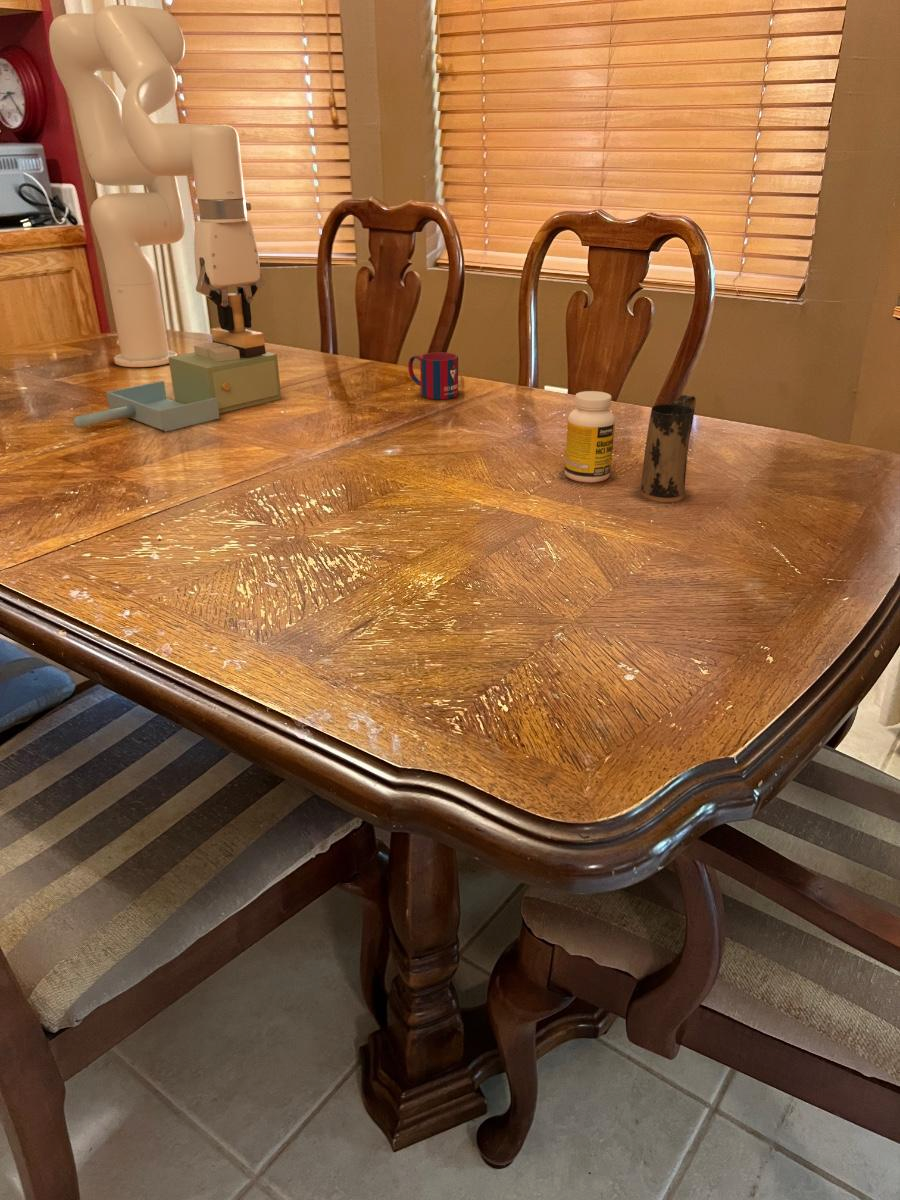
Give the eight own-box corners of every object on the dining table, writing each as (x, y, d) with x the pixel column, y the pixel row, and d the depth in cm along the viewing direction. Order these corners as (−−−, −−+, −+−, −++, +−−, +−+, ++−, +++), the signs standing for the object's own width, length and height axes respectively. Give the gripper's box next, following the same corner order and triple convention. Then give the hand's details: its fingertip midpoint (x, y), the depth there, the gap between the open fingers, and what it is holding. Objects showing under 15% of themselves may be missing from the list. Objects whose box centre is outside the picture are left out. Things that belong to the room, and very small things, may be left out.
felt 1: (194, 354, 149) (193, 345, 148) (214, 350, 151) (213, 342, 151) (207, 357, 146) (206, 348, 146) (227, 354, 149) (226, 345, 148)
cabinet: (175, 402, 151) (168, 357, 147) (242, 387, 160) (237, 344, 156) (217, 416, 143) (211, 369, 139) (285, 400, 152) (281, 355, 148)
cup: (440, 401, 150) (440, 362, 147) (400, 392, 156) (398, 354, 153) (465, 394, 155) (466, 355, 151) (425, 385, 161) (424, 348, 157)
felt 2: (208, 357, 146) (207, 348, 146) (231, 354, 148) (230, 346, 148) (217, 362, 143) (216, 352, 143) (240, 359, 145) (239, 350, 145)
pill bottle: (599, 487, 113) (606, 404, 108) (556, 478, 116) (561, 397, 110) (617, 473, 117) (624, 393, 112) (575, 465, 120) (581, 386, 115)
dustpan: (165, 400, 152) (162, 380, 150) (219, 418, 142) (217, 398, 140) (52, 424, 139) (47, 403, 137) (102, 446, 128) (98, 424, 127)
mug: (670, 505, 107) (682, 410, 101) (631, 495, 110) (641, 402, 104) (699, 488, 112) (712, 397, 107) (661, 479, 115) (672, 390, 110)
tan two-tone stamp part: (213, 349, 152) (205, 292, 147) (232, 345, 154) (225, 290, 150) (246, 357, 145) (239, 298, 141) (265, 353, 148) (259, 296, 144)
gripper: (250, 207, 147) (262, 319, 155) (165, 213, 136) (182, 332, 145) (277, 209, 142) (287, 324, 151) (191, 215, 132) (207, 338, 140)
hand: (236, 327), depth 148 cm, fingers closed on tan two-tone stamp part, 2 cm apart
